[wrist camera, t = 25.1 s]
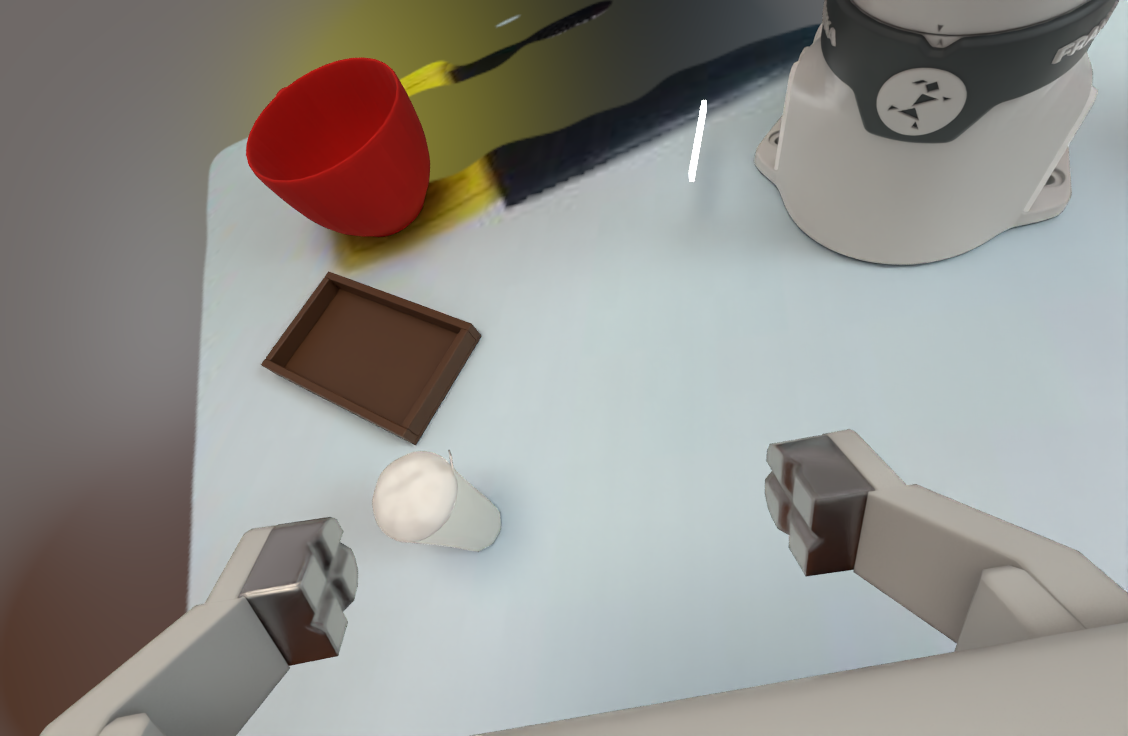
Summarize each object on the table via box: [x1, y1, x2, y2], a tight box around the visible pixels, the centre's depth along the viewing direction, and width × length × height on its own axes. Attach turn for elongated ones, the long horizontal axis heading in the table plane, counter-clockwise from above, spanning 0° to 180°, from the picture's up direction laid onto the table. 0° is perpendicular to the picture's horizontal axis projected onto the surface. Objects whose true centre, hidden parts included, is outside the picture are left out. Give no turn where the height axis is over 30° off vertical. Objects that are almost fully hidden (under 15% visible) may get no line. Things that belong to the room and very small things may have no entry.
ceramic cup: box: [246, 58, 430, 237], centre depth 46 cm, size 13×17×10 cm
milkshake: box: [372, 450, 501, 552], centre depth 30 cm, size 4×5×10 cm
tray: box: [261, 272, 481, 445], centre depth 42 cm, size 9×15×2 cm, turn 62°
